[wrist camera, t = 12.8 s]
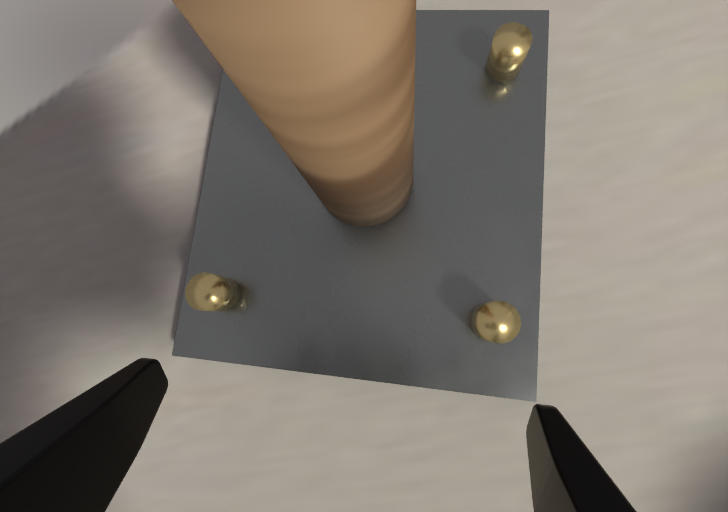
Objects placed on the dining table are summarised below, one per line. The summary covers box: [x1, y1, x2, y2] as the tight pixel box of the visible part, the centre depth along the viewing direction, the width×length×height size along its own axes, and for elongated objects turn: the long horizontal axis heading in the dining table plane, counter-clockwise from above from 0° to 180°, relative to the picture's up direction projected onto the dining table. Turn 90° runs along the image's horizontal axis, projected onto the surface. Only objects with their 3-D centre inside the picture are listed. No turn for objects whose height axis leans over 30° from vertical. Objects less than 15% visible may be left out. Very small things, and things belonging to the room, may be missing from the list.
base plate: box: [172, 10, 549, 402], centre depth 18 cm, size 18×16×3 cm
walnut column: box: [172, 0, 416, 227], centre depth 12 cm, size 4×4×12 cm
